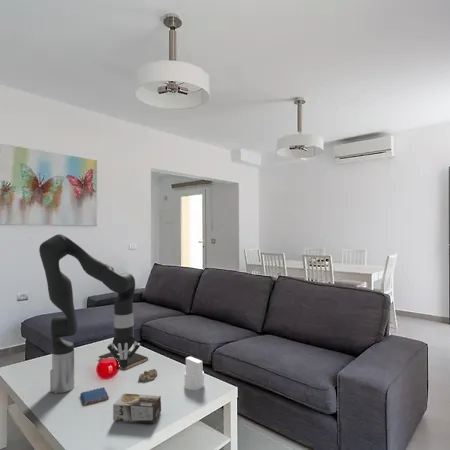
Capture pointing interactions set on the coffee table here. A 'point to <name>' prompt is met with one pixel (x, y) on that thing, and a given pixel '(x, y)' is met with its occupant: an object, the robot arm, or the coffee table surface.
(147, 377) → the mineral rock
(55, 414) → the coffee table surface
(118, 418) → the coffee box
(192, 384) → the cylinder with rectangular tab
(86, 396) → the woven mat
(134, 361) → the hardcover book
